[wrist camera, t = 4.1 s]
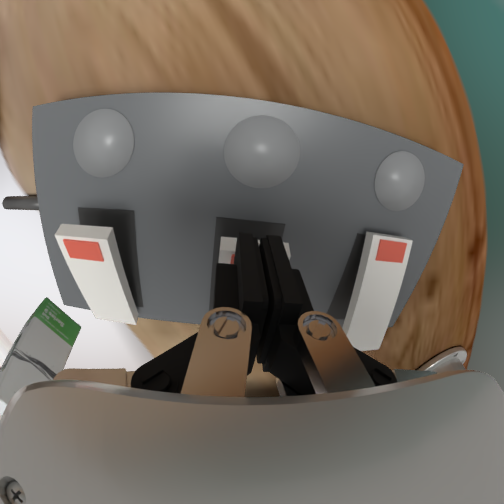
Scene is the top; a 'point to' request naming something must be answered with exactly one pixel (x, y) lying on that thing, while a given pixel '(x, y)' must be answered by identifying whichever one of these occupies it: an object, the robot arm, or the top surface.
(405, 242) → the far-end rocker
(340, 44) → the top surface
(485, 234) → the top surface
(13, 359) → the ink box
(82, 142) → the grey switch panel
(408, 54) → the top surface
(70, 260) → the block
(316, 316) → the robot arm
